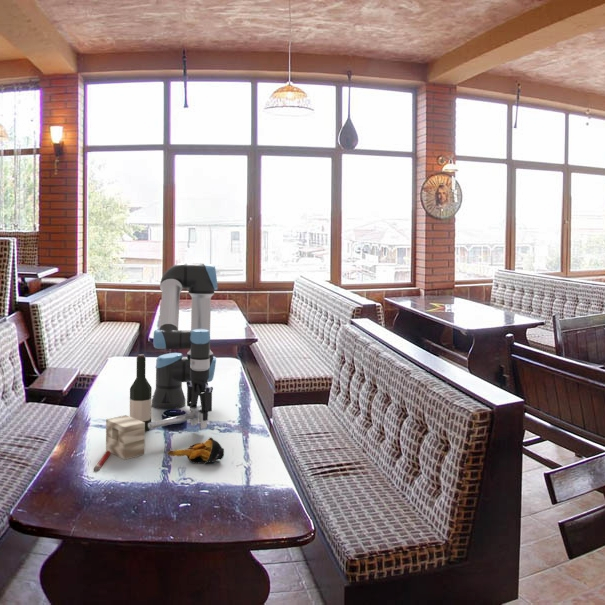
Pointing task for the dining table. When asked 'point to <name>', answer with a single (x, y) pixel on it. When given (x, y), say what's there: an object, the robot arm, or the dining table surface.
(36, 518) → the dining table surface
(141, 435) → the eye block
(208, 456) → the fried shrimp in bowl
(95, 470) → the flare
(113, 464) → the dining table surface
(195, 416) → the pull pin
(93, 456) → the dining table surface
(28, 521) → the dining table surface
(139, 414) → the wine bottle
